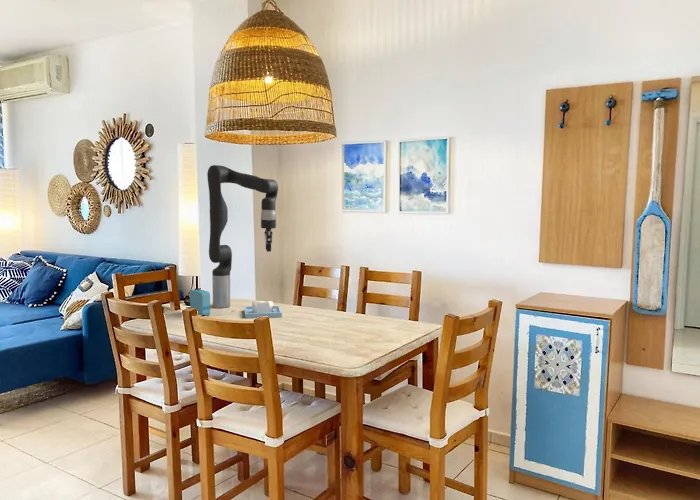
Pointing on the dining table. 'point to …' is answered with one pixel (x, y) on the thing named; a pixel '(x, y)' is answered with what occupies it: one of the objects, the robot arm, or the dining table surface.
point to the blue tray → (253, 315)
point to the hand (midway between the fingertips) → (268, 250)
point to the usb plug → (263, 307)
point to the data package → (200, 301)
